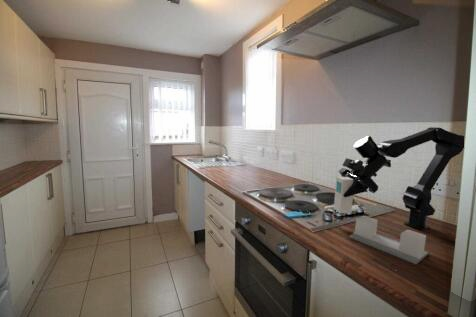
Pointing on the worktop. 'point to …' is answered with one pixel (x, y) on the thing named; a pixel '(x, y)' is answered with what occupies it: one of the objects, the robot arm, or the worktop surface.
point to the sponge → (295, 214)
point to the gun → (354, 208)
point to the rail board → (390, 240)
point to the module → (340, 201)
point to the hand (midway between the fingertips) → (340, 194)
